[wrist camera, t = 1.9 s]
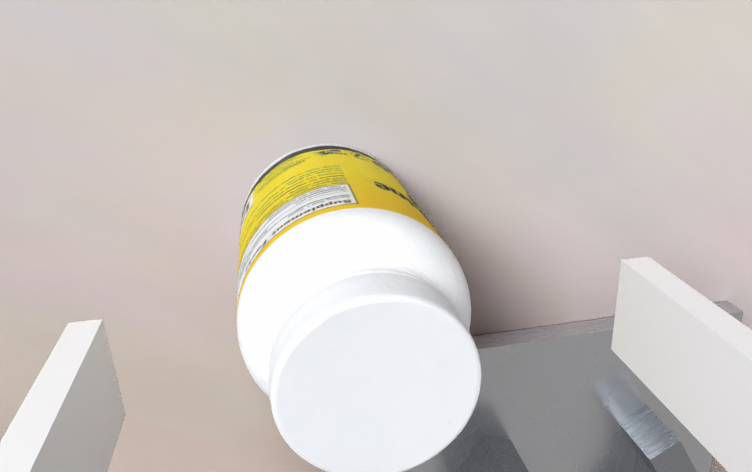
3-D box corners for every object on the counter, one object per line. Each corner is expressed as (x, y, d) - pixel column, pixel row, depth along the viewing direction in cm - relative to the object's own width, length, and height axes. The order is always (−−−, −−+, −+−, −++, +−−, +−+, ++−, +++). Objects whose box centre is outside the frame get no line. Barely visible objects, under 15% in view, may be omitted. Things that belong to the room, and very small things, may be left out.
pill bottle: (428, 250, 25) (550, 434, 15) (287, 318, 25) (313, 547, 15) (366, 108, 22) (463, 213, 12) (209, 183, 22) (175, 350, 12)
